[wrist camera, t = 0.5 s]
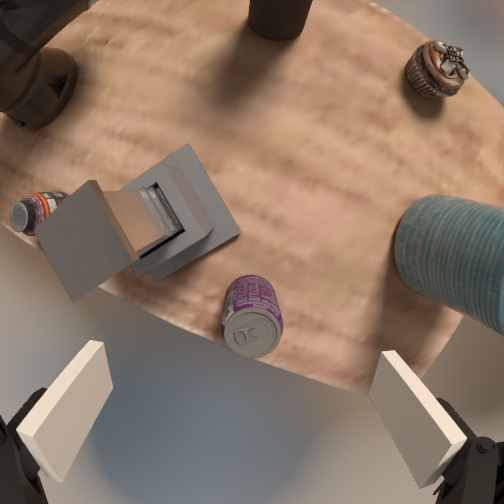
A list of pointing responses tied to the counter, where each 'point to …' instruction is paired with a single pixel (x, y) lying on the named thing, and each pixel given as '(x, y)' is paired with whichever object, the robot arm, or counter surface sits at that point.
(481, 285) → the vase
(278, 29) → the container
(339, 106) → the counter surface
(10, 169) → the counter surface
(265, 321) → the beverage can
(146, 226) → the column
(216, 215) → the stand
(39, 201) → the supplement bottle
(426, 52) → the cupcake
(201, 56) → the counter surface
